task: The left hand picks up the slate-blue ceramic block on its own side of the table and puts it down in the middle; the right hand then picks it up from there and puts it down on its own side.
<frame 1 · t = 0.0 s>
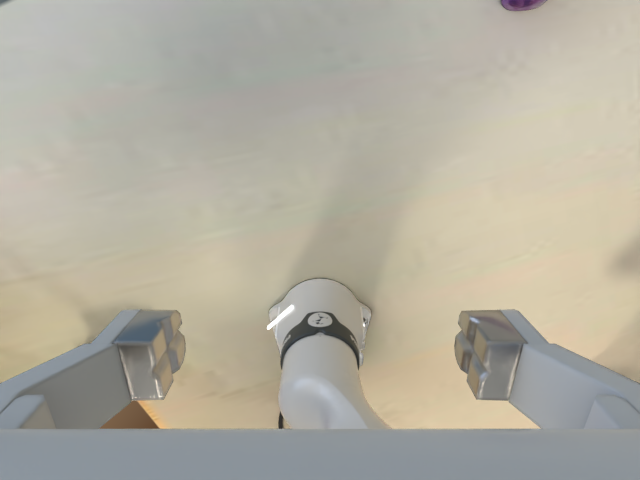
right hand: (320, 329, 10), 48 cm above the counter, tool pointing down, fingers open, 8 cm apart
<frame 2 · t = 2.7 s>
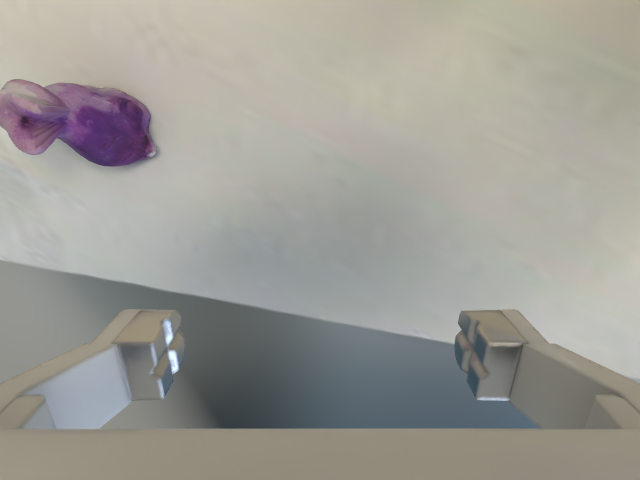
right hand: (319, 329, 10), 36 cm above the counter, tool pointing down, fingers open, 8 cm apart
figurine: (112, 123, 43), on the counter
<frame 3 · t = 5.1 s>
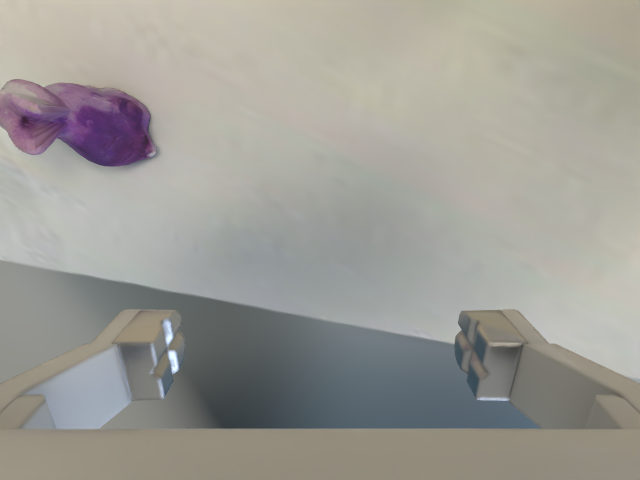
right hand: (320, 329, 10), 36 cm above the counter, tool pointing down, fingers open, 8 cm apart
figurine: (112, 123, 43), on the counter
when the left hand's fingers open (3 cm above the counter, at t = 7.4 s): block drops 1 cm, on the counter.
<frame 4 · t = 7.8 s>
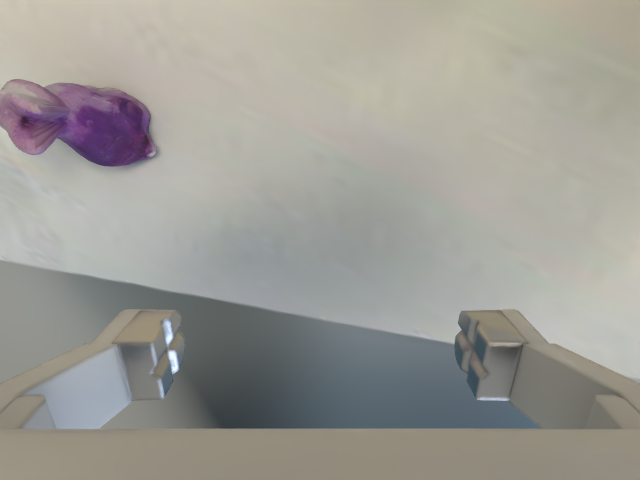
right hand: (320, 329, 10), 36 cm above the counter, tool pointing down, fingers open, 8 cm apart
figurine: (112, 123, 43), on the counter
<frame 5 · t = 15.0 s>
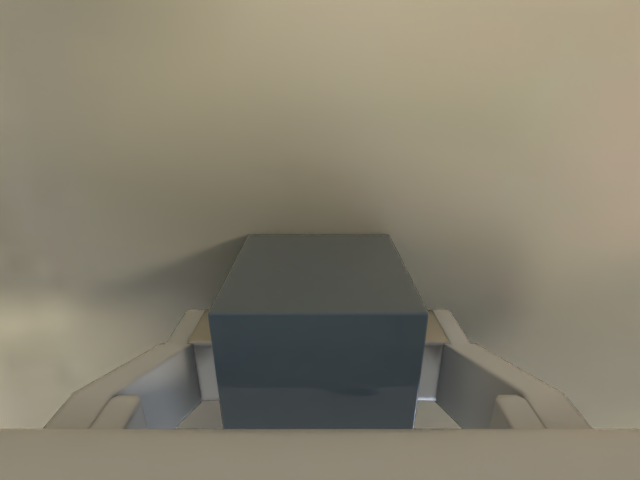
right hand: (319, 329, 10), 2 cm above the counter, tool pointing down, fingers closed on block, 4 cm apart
block: (318, 298, 12), on the counter, touching right hand
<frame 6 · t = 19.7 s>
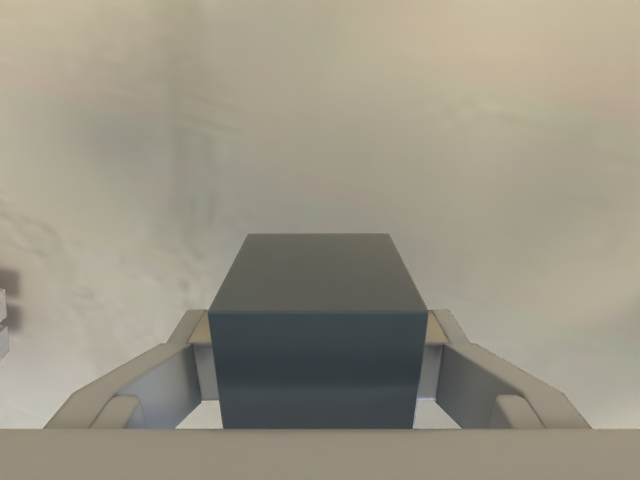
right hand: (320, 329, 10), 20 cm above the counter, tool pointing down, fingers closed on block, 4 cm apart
block: (318, 297, 12), point 18 cm above the counter, touching right hand
when the right hand's fingers open (3 cm above the counter, at t = 24.5 s): block drops 1 cm, on the counter.
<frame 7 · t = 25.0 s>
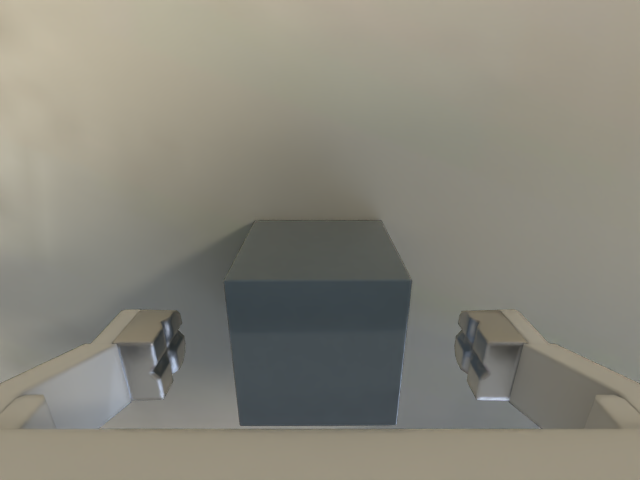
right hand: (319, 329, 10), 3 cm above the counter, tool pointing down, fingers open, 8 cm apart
block: (318, 279, 13), on the counter
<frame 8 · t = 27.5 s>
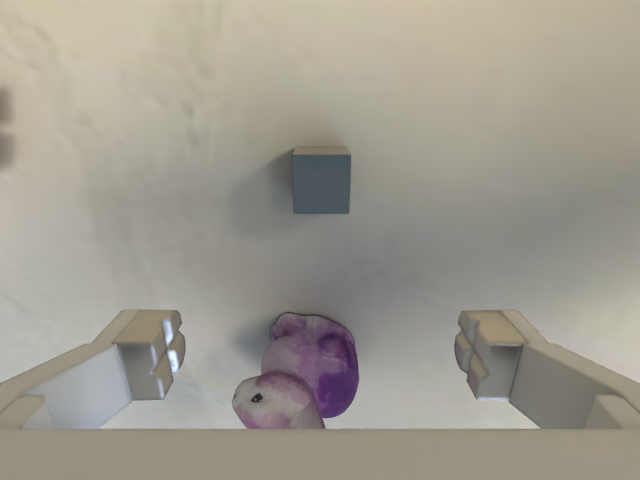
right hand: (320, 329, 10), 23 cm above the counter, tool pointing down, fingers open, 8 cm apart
block: (321, 173, 32), on the counter
figurine: (307, 343, 39), on the counter
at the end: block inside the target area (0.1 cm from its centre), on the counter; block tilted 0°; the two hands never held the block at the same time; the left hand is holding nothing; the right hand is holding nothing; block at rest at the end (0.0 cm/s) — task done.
